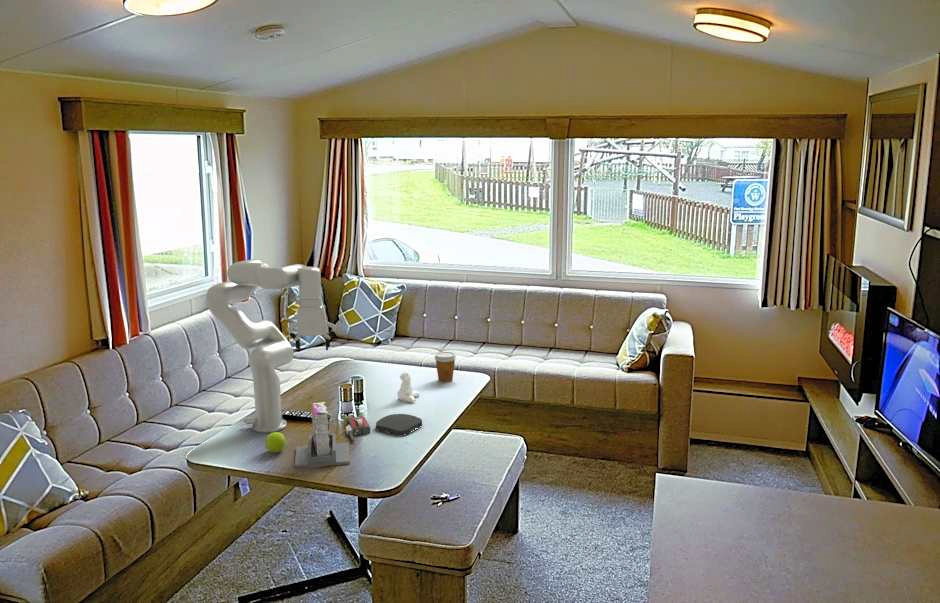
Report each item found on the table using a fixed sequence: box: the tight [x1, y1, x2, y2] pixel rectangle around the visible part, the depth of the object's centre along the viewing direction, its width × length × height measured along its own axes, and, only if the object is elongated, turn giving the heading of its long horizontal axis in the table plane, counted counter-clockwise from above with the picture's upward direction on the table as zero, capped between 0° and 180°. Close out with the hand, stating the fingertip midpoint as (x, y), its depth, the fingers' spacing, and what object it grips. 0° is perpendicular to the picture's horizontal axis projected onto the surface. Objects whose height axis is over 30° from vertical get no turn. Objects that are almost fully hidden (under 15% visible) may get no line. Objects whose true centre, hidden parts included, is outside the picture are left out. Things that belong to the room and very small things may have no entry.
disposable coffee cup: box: [434, 351, 457, 383], centre depth 339 cm, size 10×10×12 cm
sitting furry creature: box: [396, 371, 420, 404], centre depth 315 cm, size 10×9×12 cm
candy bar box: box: [310, 401, 331, 456], centre depth 258 cm, size 11×5×16 cm, turn 17°
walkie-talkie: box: [345, 416, 371, 442], centre depth 281 cm, size 9×4×20 cm
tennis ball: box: [264, 431, 287, 453], centre depth 264 cm, size 7×7×7 cm
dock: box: [294, 433, 351, 469], centre depth 260 cm, size 18×16×5 cm
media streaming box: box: [375, 413, 423, 436], centre depth 286 cm, size 15×15×3 cm
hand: (313, 350), depth 268 cm, fingers open, 9 cm apart
